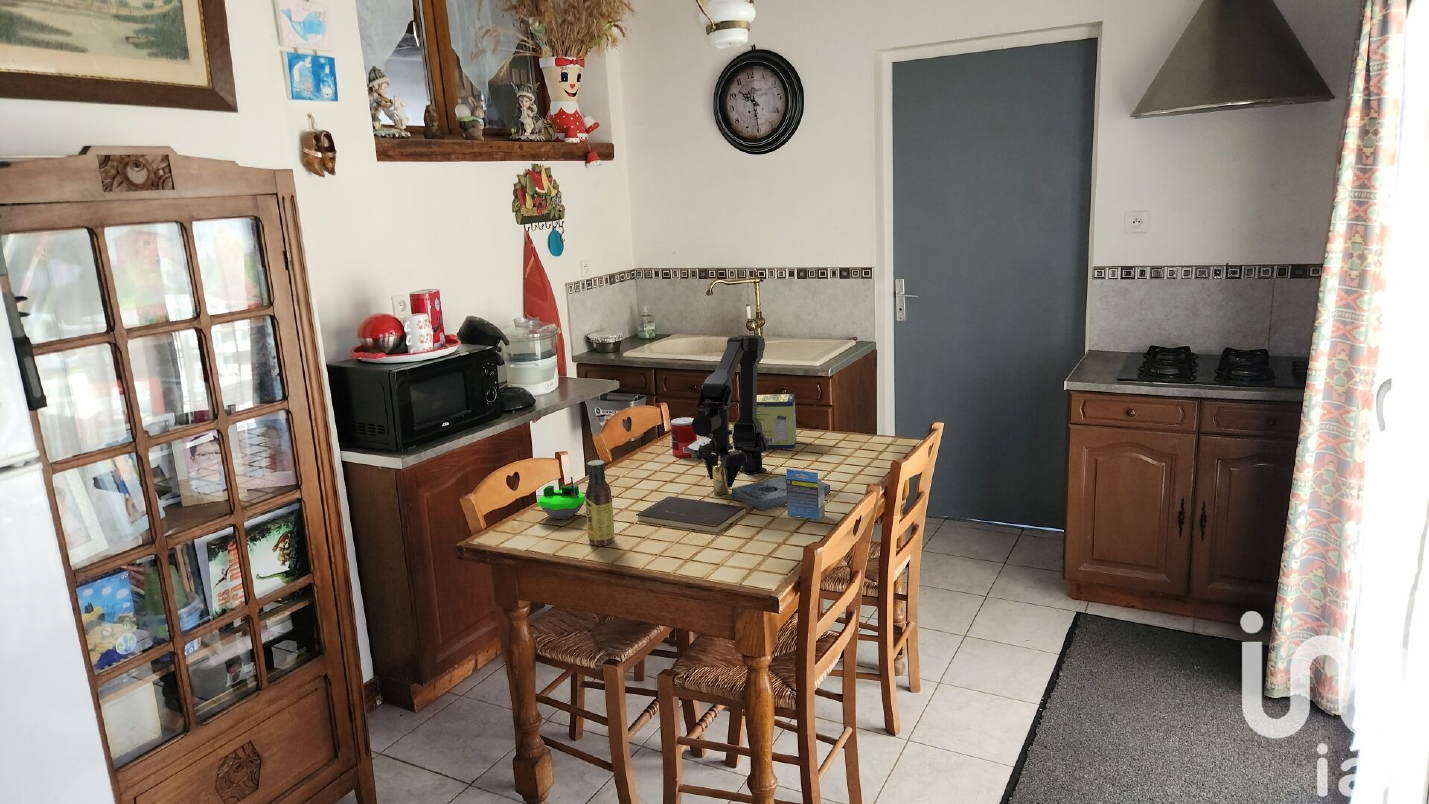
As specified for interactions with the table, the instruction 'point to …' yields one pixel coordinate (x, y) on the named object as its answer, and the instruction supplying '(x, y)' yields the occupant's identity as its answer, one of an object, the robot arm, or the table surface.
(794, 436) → the protein box
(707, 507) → the hardcover book
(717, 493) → the cylinder
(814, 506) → the label tape box
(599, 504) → the sauce bottle
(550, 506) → the green floating island model
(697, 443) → the robot arm
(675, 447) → the canned food
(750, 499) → the jig
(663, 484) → the table surface
